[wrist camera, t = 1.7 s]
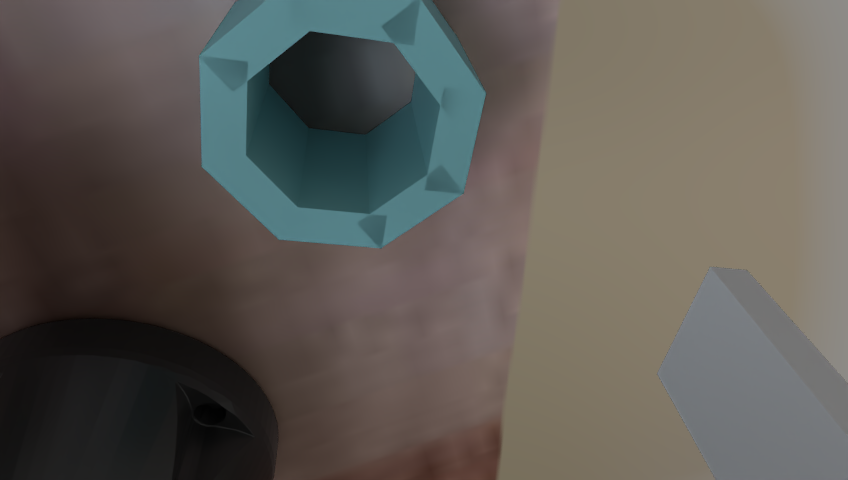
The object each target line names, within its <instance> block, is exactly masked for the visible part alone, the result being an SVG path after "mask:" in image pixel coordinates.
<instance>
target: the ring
mask: <svg viewBox="0 0 848 480" xmlns="http://www.w3.org/2000/svg"><path fill="white" fill-rule="evenodd" d="M309 31H313V32H320V33H327V34H334V35H342V36H349V37H356V38H363V39H370V40H377V41H384V42H391V43H394V44H395V45H396V47H397V48H398V49H399V51H400V52H401V53H402V55H403V56H404V57H405V59H406V60H407V61H408V63H409V64H410V65H411V67H412V68H413V69H414V71H415V72H416V74H415V80H414V86H413V93H412V99H411V102H410V103H409V104H407V105H406V106H405V107H403V108H402V109H400V110H399V111H398V112H396V113H395V114H394V115H392V116H391V117H389V118H388V119H387V120H385V121H384V122H383V123H381V124H380V125H378V126H377V127H376V128H374V129H373V130H372V131H370V132H369V133H367V134H366V135H364V134H355V133H347V132H338V131H329V130H321V129H312V128H308V127H307V126H306V124H305V123H304V122H303V121H302V120H301V119H300V118H299V117H298V116H297V114H296V113H295V112H294V111H293V110H292V109H291V108H290V107H289V106H288V105H287V103H286V102H285V101H284V100H283V99H282V98H281V97H280V96H279V95H278V93H277V92H276V91H275V90H274V89H273V88H272V87H271V86H270V85H269V69H270V63H271V62H272V61H273V60H274V59H276V58H277V57H278V56H279V55H281V54H282V53H283V52H284V51H286V50H287V49H288V48H289V47H291V46H292V45H293V44H294V43H296V42H297V41H298V40H299V39H301V38H302V37H303V36H304V35H306V34H307V33H308V32H309ZM199 65H200V109H201V154H202V165H201V166H202V168H204V169H205V170H206V171H207V172H208V173H209V174H210V175H211V176H212V177H213V178H214V179H215V180H216V181H217V182H218V183H220V184H221V185H222V186H223V187H224V188H225V189H226V190H227V191H228V192H229V193H230V194H231V195H232V196H233V197H234V198H235V199H236V200H237V201H239V202H240V203H241V204H242V205H243V206H244V207H245V208H246V209H247V210H248V211H249V212H250V213H251V214H252V215H253V216H254V217H255V218H257V219H258V220H259V221H260V222H261V223H262V224H263V225H264V226H265V227H266V228H267V229H268V230H269V231H270V232H271V233H272V234H273V235H275V236H276V237H277V238H278V240H289V241H301V242H313V243H325V244H337V245H348V246H360V247H372V248H380V249H381V248H382V247H384V246H385V245H387V244H388V243H390V242H391V241H393V240H394V239H396V238H397V237H399V236H400V235H402V234H403V233H405V232H406V231H408V230H409V229H411V228H412V227H414V226H415V225H417V224H418V223H420V222H421V221H423V220H424V219H426V218H427V217H429V216H430V215H432V214H433V213H435V212H436V211H438V210H439V209H441V208H442V207H444V206H445V205H447V204H448V203H450V202H451V201H453V200H454V199H456V198H457V197H459V196H460V195H462V194H463V193H464V189H465V185H466V180H467V176H468V171H469V167H470V162H471V158H472V153H473V149H474V145H475V140H476V136H477V131H478V127H479V122H480V118H481V114H482V109H483V105H484V100H485V96H486V92H485V90H484V88H483V86H482V84H481V82H480V80H479V78H478V76H477V74H476V72H475V70H474V68H473V67H472V65H471V63H470V61H469V59H468V57H467V55H466V53H465V51H464V49H463V47H462V45H461V43H460V41H459V40H458V38H457V36H456V34H455V33H454V32H453V30H452V29H451V28H450V26H449V25H448V23H447V22H446V20H445V19H444V17H443V16H442V14H441V13H440V11H439V10H438V8H437V7H436V6H435V4H434V3H433V1H432V0H238V1H237V2H235V3H234V5H233V6H232V8H231V9H230V11H229V12H228V14H227V15H226V17H225V18H224V19H223V21H222V22H221V24H220V25H219V27H218V28H217V30H216V31H215V33H214V34H213V36H212V37H211V39H210V40H209V42H208V43H207V45H206V46H205V48H204V49H203V51H202V52H201V54H200V55H199Z"/></svg>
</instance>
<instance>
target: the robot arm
mask: <svg viewBox="0 0 848 480" xmlns="http://www.w3.org/2000/svg"><path fill="white" fill-rule="evenodd" d="M657 375H658V376H659V378H660V380H661V382H662V384H663V385H664V387H665V389H666V391H667V393H668V394H669V396H670V398H671V400H672V401H673V403H674V405H675V407H676V409H677V410H678V413H679V414H680V416H681V418H682V420H683V422H684V423H685V425H686V427H687V429H688V431H689V432H690V434H691V436H692V438H693V440H694V441H695V443H696V445H697V447H698V449H699V450H700V452H701V454H702V456H703V457H704V459H705V461H706V463H707V465H708V467H709V468H710V470H711V472H712V474H713V476H714V477H715V479H716V480H848V383H847V382H846V381H845V380H844V379H843V378H842V376H841V375H840V374H839V373H838V372H837V371H836V370H835V368H834V367H833V366H832V365H831V364H830V363H829V362H828V361H827V359H826V358H825V357H824V356H823V355H822V354H821V353H820V352H819V350H818V349H817V348H816V347H815V346H814V345H813V344H812V343H811V341H810V340H809V339H808V338H807V337H806V336H805V335H804V334H803V332H802V331H801V330H800V329H799V328H798V327H797V326H796V325H795V323H794V322H793V321H792V320H791V319H790V318H789V317H788V316H787V314H786V313H785V312H784V311H783V310H782V309H781V308H780V307H779V305H778V304H777V303H776V302H775V301H774V300H773V299H772V298H771V296H770V295H769V294H768V293H767V292H766V291H765V290H764V289H763V287H762V286H761V285H760V284H759V283H758V282H757V281H756V280H755V278H754V277H753V276H752V275H751V274H750V273H749V272H748V271H747V270H741V269H730V268H719V267H710V268H709V270H708V272H707V274H706V276H705V278H704V280H703V282H702V284H701V286H700V288H699V290H698V292H697V295H696V296H695V298H694V300H693V302H692V305H691V306H690V309H689V310H688V312H687V314H686V316H685V319H684V320H683V322H682V324H681V327H680V329H679V331H678V333H677V335H676V337H675V339H674V341H673V343H672V345H671V347H670V349H669V351H668V353H667V355H666V357H665V359H664V361H663V363H662V365H661V367H660V369H659V371H658V373H657ZM277 447H278V426H277V422H276V418H275V415H274V411H273V409H272V407H271V405H270V403H269V401H268V399H267V397H266V396H265V394H264V393H263V391H262V390H261V388H260V387H259V386H258V385H257V383H256V382H255V381H254V380H253V379H252V378H251V377H250V376H249V375H248V374H247V373H246V372H245V371H244V370H243V369H242V368H240V367H239V366H238V365H237V364H235V363H234V362H233V361H232V360H230V359H229V358H227V357H226V356H224V355H223V354H221V353H220V352H218V351H216V350H214V349H213V348H211V347H209V346H207V345H205V344H203V343H201V342H199V341H197V340H194V339H192V338H190V337H187V336H185V335H182V334H179V333H177V332H173V331H170V330H167V329H164V328H160V327H156V326H152V325H147V324H142V323H137V322H131V321H124V320H113V319H74V320H64V321H56V322H51V323H46V324H41V325H37V326H33V327H29V328H27V329H24V330H21V331H18V332H15V333H13V334H11V335H8V336H6V337H4V338H2V339H0V480H273V478H274V472H275V464H276V455H277Z"/></svg>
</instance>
